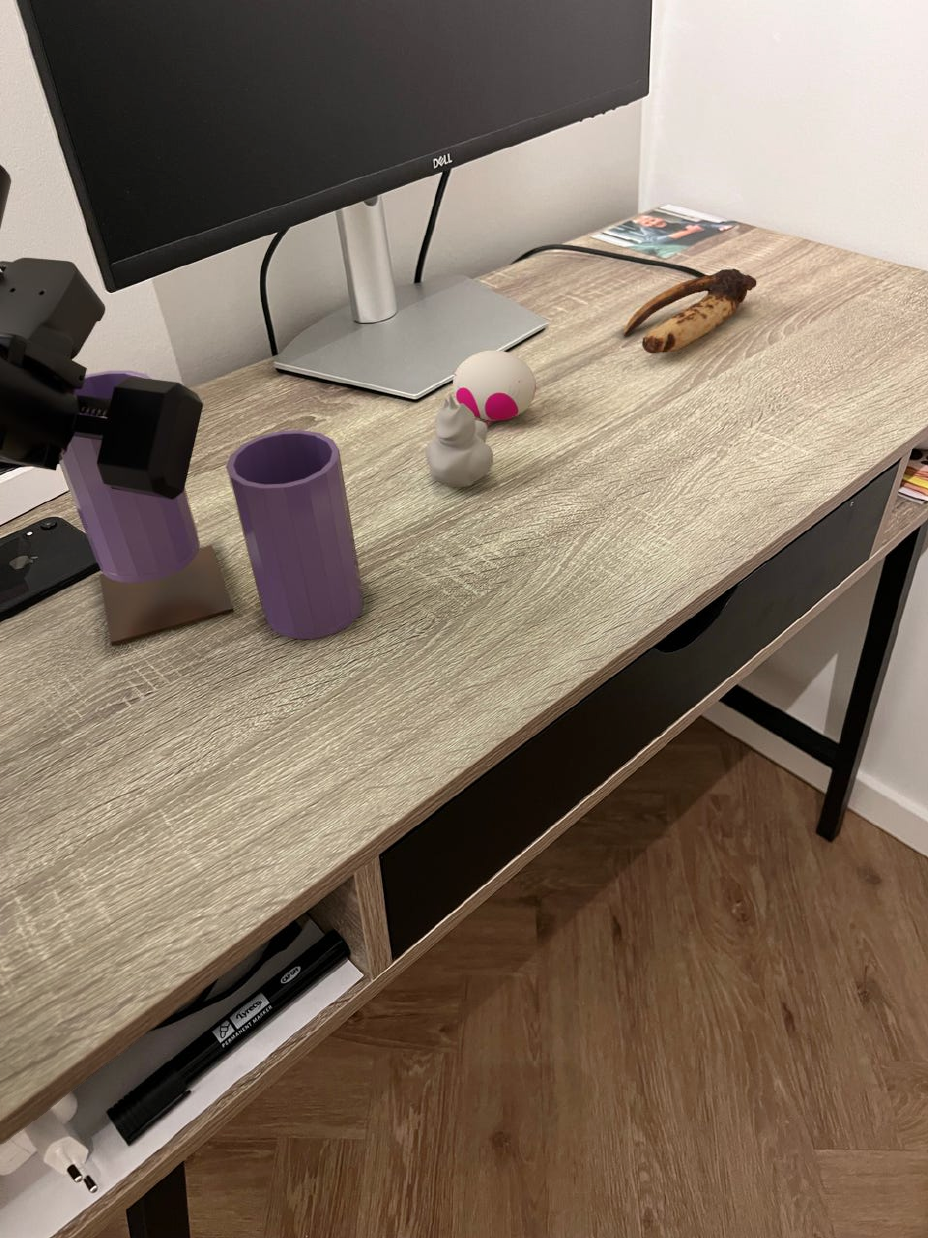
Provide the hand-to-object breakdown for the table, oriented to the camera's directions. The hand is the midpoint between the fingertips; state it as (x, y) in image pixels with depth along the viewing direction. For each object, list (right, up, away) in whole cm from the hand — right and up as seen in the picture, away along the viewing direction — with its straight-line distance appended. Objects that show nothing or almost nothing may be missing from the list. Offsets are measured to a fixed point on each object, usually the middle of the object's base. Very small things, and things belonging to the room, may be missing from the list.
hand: (135, 460), depth 65 cm
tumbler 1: (0, -6, +3) cm, 7 cm away
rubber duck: (+22, +1, +16) cm, 27 cm away
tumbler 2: (+11, -10, +4) cm, 15 cm away
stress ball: (+24, +7, +23) cm, 34 cm away
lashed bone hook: (+44, +19, +34) cm, 59 cm away
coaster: (0, -9, +6) cm, 10 cm away
